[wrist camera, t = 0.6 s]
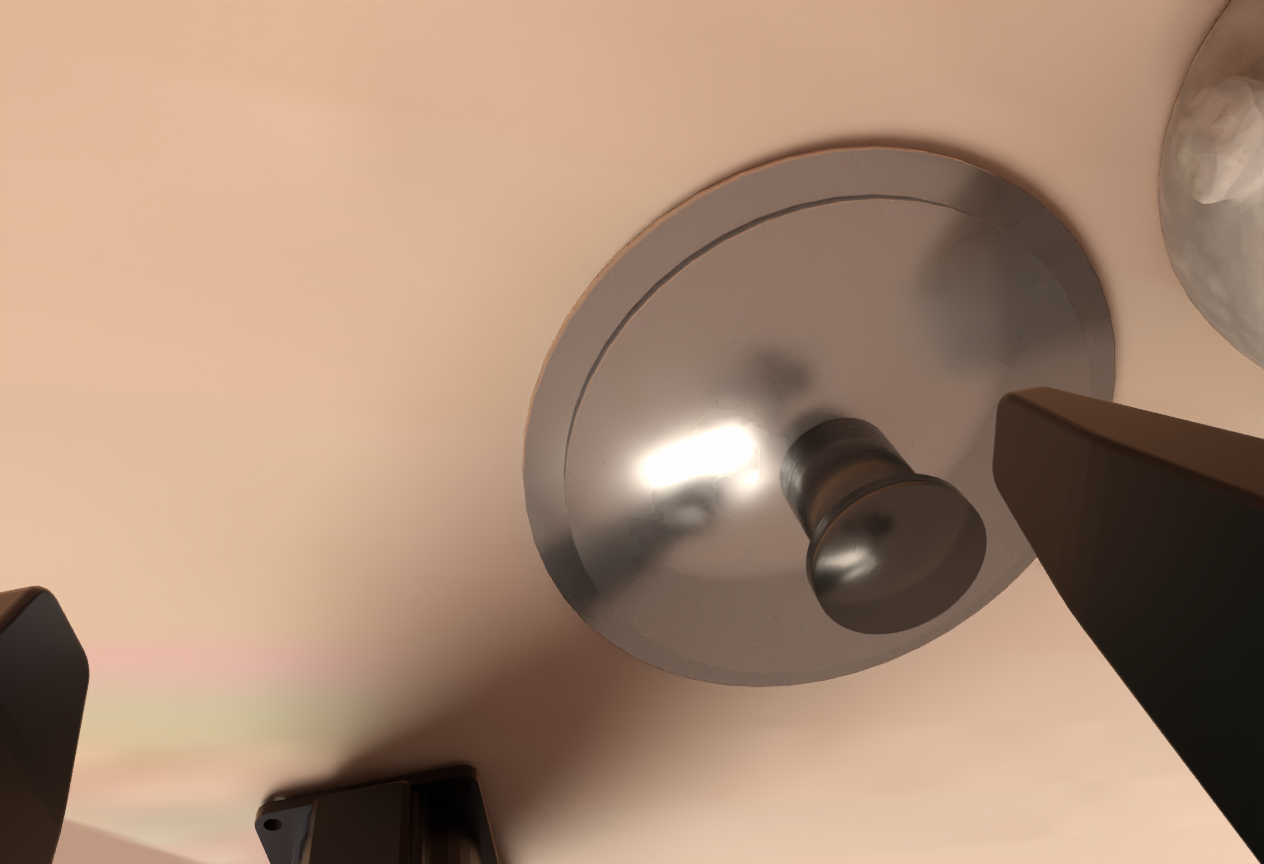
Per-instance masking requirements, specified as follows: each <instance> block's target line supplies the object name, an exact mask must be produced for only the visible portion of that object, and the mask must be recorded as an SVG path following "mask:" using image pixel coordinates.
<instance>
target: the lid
mask: <svg viewBox="0 0 1264 864" xmlns="http://www.w3.org/2000/svg"><path fill="white" fill-rule="evenodd" d="M1114 382H1115V344H1114V338H1113V332H1112V326H1111V320H1110V314H1109V309H1108V306H1107V303H1106V300H1105V297H1104V295H1103V292H1102V289H1101V286H1100V283H1099V280H1098V277H1097V276H1096V274H1095V272H1094V270H1093V268H1092V266H1091V264H1090V263H1089V261H1088V259H1087V257H1086V255H1085V253H1084V252H1083V250H1082V248H1081V247H1080V245H1079V244H1078V243H1077V242H1076V240H1075V239H1074V238H1073V237H1072V235H1071V234H1070V233H1069V232H1068V230H1067V229H1066V228H1065V227H1064V225H1063V224H1062V223H1061V222H1060V220H1058V219H1057V218H1056V217H1055V216H1054V215H1053V214H1052V213H1051V212H1049V211H1048V210H1047V209H1046V208H1045V207H1044V206H1043V205H1042V204H1040V203H1039V202H1038V201H1037V200H1036V199H1035V198H1034V197H1032V196H1031V195H1029V194H1028V193H1026V192H1024V191H1023V190H1021V189H1019V188H1018V187H1016V186H1015V185H1013V184H1011V183H1010V182H1008V181H1006V180H1005V179H1003V178H1002V177H1000V176H998V175H996V174H994V173H992V172H989V171H987V170H984V169H982V168H980V167H977V166H975V165H972V164H970V163H967V162H965V161H962V160H960V159H957V158H954V157H950V156H946V155H941V154H937V153H933V152H929V151H924V150H920V149H915V148H902V147H890V146H877V145H869V146H853V147H837V148H827V149H822V150H817V151H812V152H807V153H802V154H797V155H792V156H787V157H783V158H780V159H777V160H774V161H771V162H768V163H765V164H762V165H759V166H757V167H754V168H751V169H748V170H745V171H742V172H739V173H737V174H735V175H733V176H731V177H729V178H727V179H725V180H723V181H721V182H719V183H717V184H715V185H713V186H711V187H709V188H706V189H704V190H702V191H700V192H698V193H697V194H695V195H694V196H692V197H690V198H689V199H687V200H686V201H684V202H683V203H681V204H680V205H678V206H677V207H675V208H674V209H672V210H670V211H669V212H667V213H666V214H664V215H663V216H661V217H660V218H658V219H657V220H656V221H655V222H653V223H652V224H651V225H650V226H649V227H648V228H646V229H645V230H644V231H643V232H642V233H640V234H639V235H638V236H637V237H636V238H634V239H633V240H632V241H631V242H630V243H629V244H627V245H626V246H625V247H624V248H623V249H622V250H621V251H620V252H619V253H618V254H617V255H616V256H615V257H614V258H613V259H612V260H611V262H610V263H609V264H608V265H607V266H606V267H605V268H604V269H603V270H602V271H601V272H600V273H599V275H598V276H597V277H596V278H595V279H594V280H593V281H592V282H591V284H590V285H589V286H588V288H587V289H586V291H585V292H584V293H583V295H582V296H581V298H580V299H579V300H578V302H577V303H576V305H575V306H574V307H573V309H572V310H571V312H570V313H569V314H568V316H567V317H566V319H565V321H564V323H563V325H562V327H561V328H560V330H559V332H558V334H557V336H556V338H555V340H554V342H553V343H552V345H551V347H550V349H549V351H548V353H547V355H546V357H545V360H544V363H543V365H542V368H541V371H540V374H539V376H538V379H537V382H536V384H535V387H534V390H533V393H532V397H531V402H530V407H529V411H528V416H527V421H526V425H525V430H524V446H523V461H522V470H523V481H524V492H525V502H526V509H527V514H528V518H529V521H530V525H531V529H532V533H533V537H534V541H535V544H536V546H537V549H538V551H539V553H540V556H541V558H542V560H543V562H544V565H545V567H546V569H547V572H548V573H549V575H550V577H551V578H552V580H553V581H554V583H555V584H556V586H557V587H558V589H559V591H560V592H561V594H562V595H563V597H564V598H565V600H566V601H567V602H568V603H569V604H570V605H571V606H572V608H573V609H574V610H575V611H576V612H577V613H578V614H579V615H580V617H581V618H582V619H583V620H584V621H585V622H586V623H587V624H588V625H590V626H591V627H592V628H593V629H594V630H596V631H597V632H598V633H599V634H600V635H602V636H603V637H604V638H605V639H606V640H608V641H609V642H610V643H612V644H614V645H615V646H617V647H618V648H620V649H622V650H623V651H625V652H627V653H628V654H630V655H631V656H633V657H635V658H637V659H639V660H641V661H643V662H646V663H648V664H650V665H653V666H655V667H657V668H659V669H662V670H664V671H667V672H671V673H674V674H677V675H681V676H684V677H687V678H691V679H694V680H700V681H706V682H712V683H717V684H723V685H735V686H752V687H765V686H788V685H797V684H803V683H810V682H817V681H824V680H828V679H832V678H836V677H840V676H844V675H848V674H852V673H856V672H859V671H862V670H865V669H868V668H871V667H874V666H877V665H880V664H883V663H885V662H888V661H891V660H893V659H895V658H897V657H900V656H902V655H904V654H906V653H908V652H911V651H913V650H915V649H917V648H920V647H921V646H923V645H925V644H927V643H929V642H930V641H932V640H934V639H936V638H937V637H939V636H941V635H943V634H945V633H946V632H948V631H950V630H951V629H953V628H954V627H956V626H957V625H959V624H960V623H962V622H963V621H965V620H966V619H968V618H969V617H970V616H972V615H973V614H975V613H976V612H978V611H979V610H980V609H982V608H983V607H984V606H985V605H986V604H988V603H989V602H990V601H991V600H993V599H994V598H995V597H996V596H997V595H999V594H1000V593H1001V592H1002V591H1003V590H1005V589H1006V588H1007V587H1008V586H1009V585H1010V584H1011V583H1012V582H1013V581H1014V580H1015V579H1016V578H1017V577H1018V576H1019V575H1020V574H1021V573H1022V572H1023V571H1024V570H1025V569H1026V568H1027V567H1028V566H1029V565H1030V564H1031V563H1032V562H1033V561H1034V559H1035V558H1036V557H1037V556H1036V554H1035V552H1034V551H1033V549H1032V547H1031V545H1030V544H1029V542H1028V540H1027V539H1026V537H1025V535H1024V534H1023V532H1022V530H1021V529H1020V527H1019V525H1018V523H1017V522H1016V520H1015V518H1014V517H1013V515H1012V513H1011V512H1010V510H1009V508H1008V506H1007V505H1006V503H1005V501H1004V500H1003V498H1002V496H1001V495H1000V493H999V491H998V489H997V487H996V484H995V481H994V477H993V471H992V460H993V447H994V434H995V421H996V410H997V405H998V403H999V400H1000V399H1001V398H1002V397H1003V396H1004V395H1005V394H1006V393H1009V392H1013V391H1018V390H1023V389H1028V388H1033V387H1039V386H1046V387H1051V388H1055V389H1059V390H1063V391H1067V392H1071V393H1075V394H1080V395H1084V396H1088V397H1092V398H1096V399H1100V400H1104V401H1108V402H1112V398H1113V390H1114Z"/></svg>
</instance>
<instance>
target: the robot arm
mask: <svg viewBox="0 0 1264 864" xmlns="http://www.w3.org/2000/svg"><path fill="white" fill-rule="evenodd" d="M992 471H993V477H994V481H995V484H996V487H997V489H998V491H999V493H1000V495H1001V496H1002V498H1003V500H1004V501H1005V503H1006V505H1007V506H1008V508H1009V510H1010V512H1011V513H1012V515H1013V517H1014V518H1015V520H1016V522H1017V523H1018V525H1019V527H1020V529H1021V530H1022V532H1023V534H1024V535H1025V537H1026V539H1027V540H1028V542H1029V544H1030V545H1031V547H1032V549H1033V551H1034V552H1035V554H1036V556H1037V557H1038V559H1039V561H1040V562H1041V564H1042V566H1043V568H1044V569H1045V571H1046V573H1047V574H1048V576H1049V578H1050V579H1051V581H1052V583H1053V584H1054V586H1055V588H1056V589H1057V591H1058V593H1059V594H1060V596H1061V597H1062V599H1063V600H1064V602H1065V604H1066V605H1067V607H1068V608H1069V610H1070V611H1071V612H1072V614H1073V615H1074V617H1075V618H1076V619H1077V621H1078V622H1079V624H1080V625H1081V626H1082V628H1083V629H1084V631H1085V632H1086V633H1087V634H1088V636H1089V637H1090V638H1091V640H1092V641H1093V642H1094V644H1095V645H1096V646H1097V648H1098V649H1099V650H1100V652H1101V653H1102V654H1103V656H1104V657H1105V658H1106V660H1107V661H1108V662H1109V664H1110V665H1111V666H1112V668H1113V669H1114V670H1115V672H1116V673H1117V674H1118V676H1119V677H1120V678H1121V680H1122V681H1123V682H1124V684H1125V685H1126V686H1127V688H1128V689H1129V690H1130V692H1131V693H1132V694H1133V695H1134V697H1135V698H1136V699H1137V701H1138V702H1139V703H1140V705H1141V706H1142V707H1143V709H1144V710H1145V711H1146V713H1147V714H1148V715H1149V717H1150V718H1151V719H1152V721H1153V722H1154V723H1155V725H1156V726H1157V727H1158V729H1159V730H1160V731H1161V733H1162V734H1163V735H1164V737H1165V738H1166V739H1167V741H1168V742H1169V743H1170V745H1171V746H1172V747H1173V749H1174V750H1175V751H1176V753H1177V754H1178V755H1179V756H1180V758H1181V759H1182V760H1183V762H1184V763H1185V764H1186V766H1187V767H1188V768H1189V770H1190V771H1191V772H1192V774H1193V775H1194V776H1195V778H1196V779H1197V780H1198V782H1199V783H1200V784H1201V786H1202V787H1203V788H1204V790H1205V791H1206V792H1207V794H1208V795H1209V796H1210V798H1211V799H1212V800H1213V802H1214V803H1215V804H1216V806H1217V807H1218V808H1219V810H1220V811H1221V812H1222V814H1223V815H1224V816H1225V817H1226V819H1227V820H1228V821H1229V823H1230V824H1231V825H1232V827H1233V828H1234V829H1235V831H1236V832H1237V833H1238V835H1239V836H1240V837H1241V839H1242V840H1243V841H1244V843H1245V844H1246V845H1247V847H1248V848H1249V849H1250V851H1251V852H1252V853H1253V855H1254V856H1255V857H1256V859H1257V860H1258V861H1259V863H1260V864H1264V439H1261V438H1257V437H1253V436H1249V435H1245V434H1241V433H1236V432H1232V431H1228V430H1224V429H1220V428H1216V427H1212V426H1208V425H1203V424H1199V423H1195V422H1191V421H1187V420H1183V419H1179V418H1174V417H1170V416H1166V415H1162V414H1158V413H1154V412H1150V411H1146V410H1141V409H1137V408H1133V407H1129V406H1125V405H1121V404H1117V403H1113V402H1108V401H1104V400H1100V399H1096V398H1092V397H1088V396H1084V395H1080V394H1075V393H1071V392H1067V391H1063V390H1059V389H1055V388H1051V387H1046V386H1039V387H1033V388H1028V389H1023V390H1018V391H1013V392H1009V393H1006V394H1005V395H1004V396H1003V397H1002V398H1001V399H1000V400H999V403H998V405H997V410H996V421H995V434H994V447H993V460H992ZM88 684H89V665H88V660H87V657H86V654H85V652H84V649H83V648H82V646H81V644H80V642H79V640H78V638H77V636H76V635H75V633H74V631H73V629H72V627H71V625H70V623H69V621H68V620H67V618H66V616H65V614H64V612H63V610H62V608H61V606H60V605H59V603H58V601H57V599H56V598H55V596H54V595H53V594H52V593H51V592H50V591H49V590H48V589H46V588H43V587H41V586H30V587H25V588H20V589H15V590H10V591H5V592H0V864H52V862H53V858H54V854H55V851H56V847H57V844H58V840H59V836H60V833H61V828H62V824H63V819H64V815H65V810H66V805H67V800H68V794H69V789H70V783H71V778H72V772H73V767H74V761H75V756H76V750H77V745H78V739H79V734H80V728H81V723H82V717H83V711H84V706H85V700H86V695H87V689H88ZM461 781H465V782H463V783H458V782H461ZM255 829H256V831H257V834H258V836H259V838H260V841H261V843H262V845H263V847H264V850H265V852H266V854H267V857H268V859H269V861H270V864H500V861H499V857H498V853H497V848H496V844H495V840H494V836H493V832H492V828H491V824H490V820H489V815H488V811H487V807H486V803H485V799H484V795H483V791H482V787H481V783H480V778H479V774H478V772H477V770H476V769H475V768H473V767H472V766H468V765H458V766H453V767H448V768H443V769H437V770H432V771H427V772H422V773H417V774H412V775H407V776H401V777H396V778H391V779H386V780H381V781H376V782H371V783H366V784H360V785H355V786H350V787H345V788H340V789H335V790H330V791H325V792H319V793H314V794H309V795H304V796H299V797H294V798H289V799H284V800H278V801H273V802H269V803H266V804H264V805H262V806H261V807H260V808H259V809H258V811H257V814H256V819H255Z"/></svg>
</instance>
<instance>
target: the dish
mask: <svg viewBox="0 0 1264 864" xmlns="http://www.w3.org/2000/svg"><path fill="white" fill-rule="evenodd" d="M1158 204H1159V212H1160V221H1161V228H1162V233H1163V237H1164V241H1165V246H1166V250H1167V253H1168V256H1169V259H1170V262H1171V265H1172V268H1173V271H1174V272H1175V274H1176V276H1177V278H1178V279H1179V281H1180V283H1181V285H1182V286H1183V288H1184V290H1185V291H1186V293H1187V295H1188V297H1189V299H1190V300H1191V302H1192V303H1193V304H1194V305H1195V307H1196V308H1197V309H1198V310H1199V312H1200V313H1201V314H1202V315H1203V316H1204V318H1205V319H1206V320H1207V321H1208V323H1209V324H1210V325H1211V326H1212V327H1213V328H1214V329H1215V330H1216V331H1217V332H1219V333H1220V334H1221V335H1222V336H1223V337H1224V338H1225V339H1226V340H1227V341H1228V342H1229V343H1230V344H1231V345H1232V346H1233V347H1235V348H1236V349H1237V350H1238V351H1239V352H1241V353H1242V354H1243V355H1245V356H1246V357H1247V358H1249V359H1250V360H1251V361H1253V362H1254V363H1256V364H1257V365H1259V366H1260V367H1262V368H1263V369H1264V0H1232V1H1231V2H1230V3H1229V5H1228V6H1227V8H1226V9H1225V11H1224V12H1223V13H1222V15H1221V16H1220V18H1219V19H1218V20H1217V22H1216V23H1215V25H1214V26H1213V28H1212V29H1211V30H1210V32H1209V33H1208V35H1207V37H1206V39H1205V40H1204V42H1203V44H1202V45H1201V47H1200V49H1199V51H1198V52H1197V54H1196V56H1195V57H1194V59H1193V61H1192V64H1191V66H1190V69H1189V71H1188V74H1187V76H1186V79H1185V81H1184V84H1183V86H1182V88H1181V90H1180V93H1179V95H1178V97H1177V100H1176V102H1175V105H1174V108H1173V111H1172V115H1171V118H1170V121H1169V125H1168V128H1167V132H1166V135H1165V138H1164V144H1163V151H1162V158H1161V166H1160V174H1159V199H1158Z"/></svg>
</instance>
